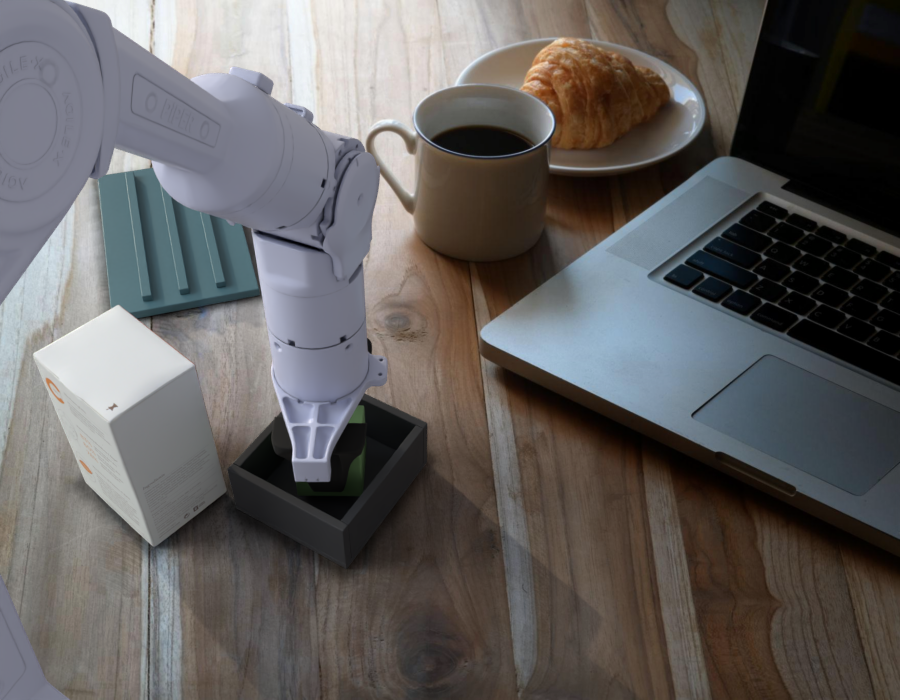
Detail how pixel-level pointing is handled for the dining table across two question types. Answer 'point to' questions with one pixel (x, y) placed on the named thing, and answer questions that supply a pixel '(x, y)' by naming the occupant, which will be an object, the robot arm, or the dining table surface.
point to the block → (355, 471)
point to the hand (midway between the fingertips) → (331, 458)
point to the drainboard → (168, 249)
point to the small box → (134, 421)
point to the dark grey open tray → (333, 517)
